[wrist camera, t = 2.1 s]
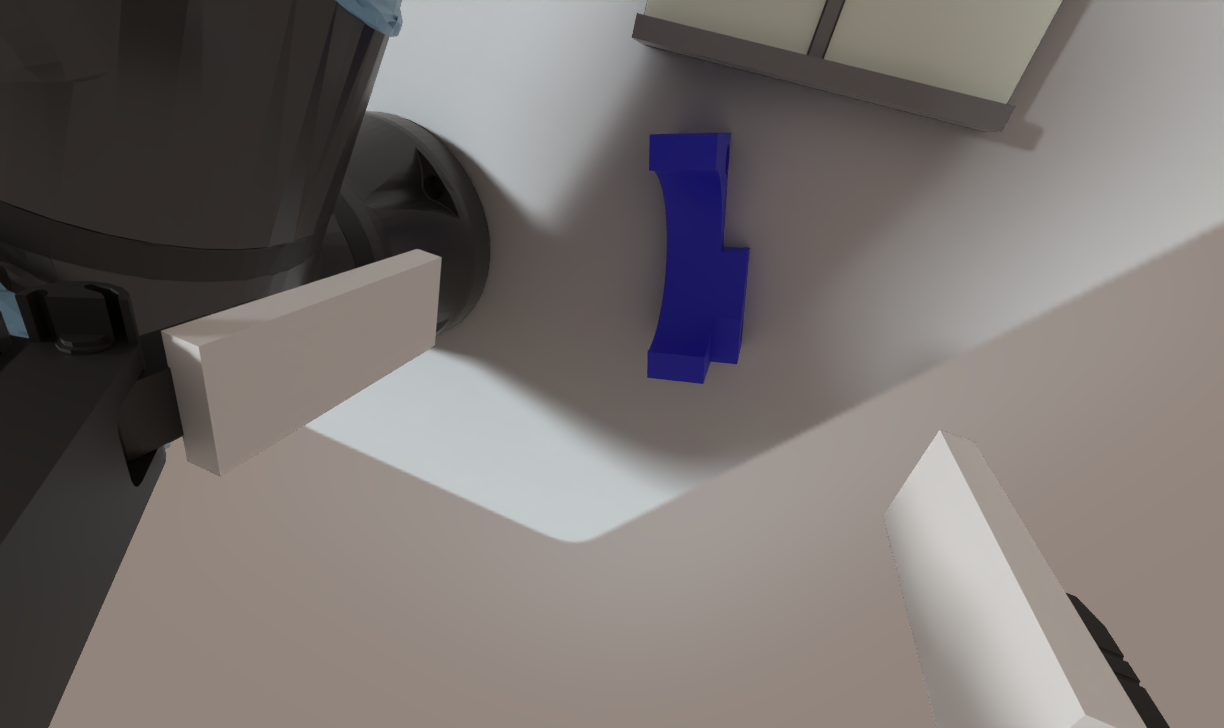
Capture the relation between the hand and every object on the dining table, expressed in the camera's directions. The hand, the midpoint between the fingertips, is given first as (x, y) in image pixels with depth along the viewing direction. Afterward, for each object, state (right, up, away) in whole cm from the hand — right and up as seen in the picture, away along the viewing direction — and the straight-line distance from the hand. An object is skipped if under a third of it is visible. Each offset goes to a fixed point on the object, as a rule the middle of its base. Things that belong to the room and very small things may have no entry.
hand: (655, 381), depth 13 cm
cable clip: (+5, +7, +17) cm, 19 cm away
